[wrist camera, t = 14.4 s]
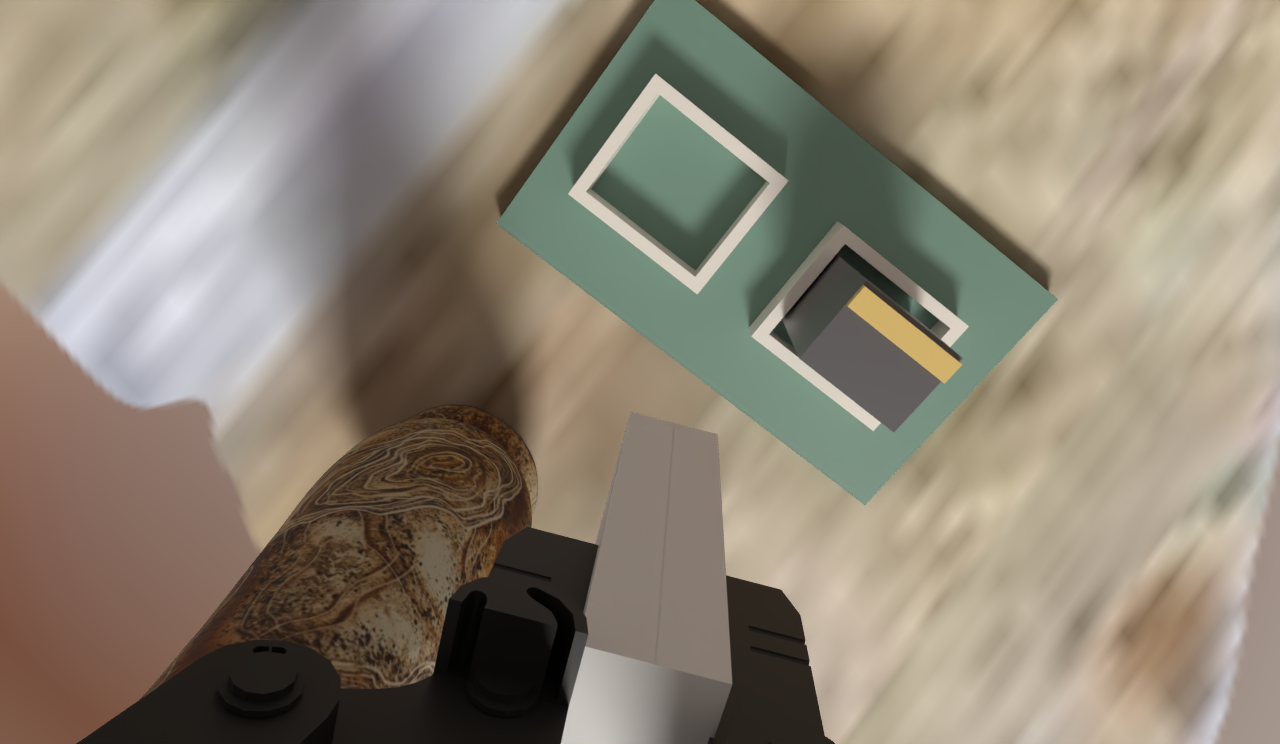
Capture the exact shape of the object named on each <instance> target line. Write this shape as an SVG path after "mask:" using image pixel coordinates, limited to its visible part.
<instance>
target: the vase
mask: <svg viewBox="0 0 1280 744" xmlns="http://www.w3.org/2000/svg"><path fill="white" fill-rule="evenodd" d="M536 501H537V476H536V469H535V465H534V463H533V460H532V458H531V456H530V454H529V452H528V450H527V448H526V446H525V444H524V443H523V441H522V439H521V438H520V437H519V436H518V435H517V434H516V433H515V432H514V431H513V430H512V429H511V428H510V427H509V426H507V425H506V424H505V423H503V422H502V421H501V420H499V419H498V418H496V417H494V416H492V415H490V414H488V413H486V412H484V411H482V410H479V409H477V408H474V407H469V406H464V405H446V406H438V407H434V408H431V409H428V410H426V411H424V412H421V413H419V414H417V415H416V416H414V417H412V418H410V419H409V420H407V421H406V422H401V423H398V424H395V425H392V426H389V427H387V428H385V429H383V430H381V431H379V432H376V433H374V434H372V435H371V436H369V437H368V438H366V439H365V440H363V441H362V442H360V443H359V444H357V445H356V446H354V447H353V448H352V449H351V450H350V451H348V452H347V453H346V454H345V455H344V456H343V457H342V458H340V459H339V460H338V461H337V462H336V463H335V464H334V465H332V466H331V468H330V469H329V470H327V471H326V472H325V473H324V474H323V476H322V477H321V478H320V479H319V480H318V481H317V482H316V483H315V484H314V485H313V487H312V488H311V489H310V490H309V491H308V492H307V494H306V495H305V496H304V498H303V499H302V500H301V502H300V503H299V504H298V505H297V507H296V508H295V509H294V511H293V512H292V513H291V515H290V516H289V517H288V519H287V520H286V521H285V523H284V524H283V525H282V527H281V528H280V529H279V531H278V532H277V533H276V535H275V536H274V537H273V538H272V539H271V541H270V542H269V543H268V544H267V546H266V547H265V548H264V550H263V551H262V552H261V553H260V555H259V556H258V557H257V558H256V560H255V561H254V562H253V563H252V565H251V566H250V567H249V568H248V570H247V571H246V572H245V574H244V575H243V576H242V577H241V579H240V580H239V581H238V582H237V584H236V585H235V586H234V588H233V589H232V590H231V591H230V593H229V594H228V595H227V596H226V598H225V599H224V600H223V602H222V603H221V604H220V605H219V607H218V608H217V609H216V610H215V612H214V613H213V614H212V616H211V617H210V618H209V619H208V621H207V622H206V623H205V624H204V626H203V627H202V628H201V629H200V630H199V632H198V633H197V634H196V635H195V636H194V637H193V639H192V640H191V641H190V642H189V643H188V644H187V645H186V646H185V648H184V649H183V650H182V651H181V653H180V654H179V655H178V656H177V657H176V659H175V660H174V661H173V662H172V663H171V664H170V666H169V667H168V668H167V669H166V670H165V671H164V673H163V674H162V675H161V676H160V677H159V678H158V680H157V681H156V682H155V683H154V684H153V685H152V687H151V688H150V689H149V690H148V691H147V692H146V693H145V695H144V696H143V697H145V696H146V695H148V694H149V693H150V692H152V691H153V690H155V689H156V688H158V687H159V686H160V685H162V684H163V683H165V682H166V681H168V680H169V679H171V678H172V677H173V676H175V675H176V674H178V673H179V672H181V671H182V670H184V669H185V668H186V667H188V666H189V665H191V664H192V663H194V662H195V661H197V660H198V659H199V658H201V657H203V656H205V655H207V654H209V653H211V652H214V651H216V650H218V649H220V648H222V647H224V646H226V645H231V644H236V643H241V642H246V641H251V640H285V641H289V642H292V643H296V644H299V645H302V646H306V647H309V648H312V649H313V650H315V651H316V652H318V653H319V654H321V655H322V656H324V657H325V658H327V659H328V660H330V661H331V663H332V664H333V666H334V668H335V669H336V671H337V673H338V674H339V676H340V678H341V688H349V689H380V688H395V687H400V686H404V685H408V684H412V683H416V682H419V681H421V680H423V679H425V678H427V677H429V676H432V674H433V672H434V667H435V662H436V658H437V653H438V648H439V644H440V639H441V634H442V630H443V625H444V620H445V615H446V611H447V606H448V601H449V598H450V597H451V596H452V595H453V594H454V593H455V592H456V591H457V590H458V589H459V588H460V587H461V586H462V585H464V584H467V583H469V582H472V581H474V580H477V579H479V578H482V577H488V575H489V573H490V571H491V569H492V567H493V565H494V562H495V560H496V558H497V556H498V553H499V551H500V549H501V547H502V544H503V542H504V541H505V540H507V539H508V538H510V537H512V536H513V535H515V534H516V533H518V532H520V531H521V530H523V529H524V528H526V527H530V528H531V526H532V512H533V510H534V508H535V505H536ZM143 697H142V698H143ZM142 698H141V699H142Z"/></svg>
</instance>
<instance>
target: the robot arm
mask: <svg viewBox="0 0 1280 744" xmlns="http://www.w3.org/2000/svg"><path fill="white" fill-rule="evenodd" d="M804 644H805V636H804V631H803V626H802V621H801V616H800V614H799V613H798V611H797V610H796V609H795V607H794V606H793V605H792V604H791V602H790V601H789V600H788V598H787V597H786V596H785V594H784V593H783V592H782V590H780V589H776V588H772V587H768V586H764V585H761V584H757V583H753V582H749V581H745V580H741V579H737V578H734V577H730V576H726V568H725V551H724V534H723V517H722V500H721V483H720V466H719V449H718V434H714V433H710V432H706V431H703V430H699V429H695V428H691V427H687V426H683V425H680V424H676V423H672V422H668V421H664V420H660V419H657V418H653V417H649V416H645V415H641V414H638V413H634V412H630V416H629V419H628V423H627V427H626V431H625V434H624V438H623V442H622V446H621V450H620V453H619V457H618V461H617V465H616V468H615V472H614V476H613V480H612V483H611V487H610V491H609V495H608V498H607V502H606V506H605V510H604V513H603V517H602V521H601V525H600V529H599V532H598V536H597V540H596V544H591V543H588V542H584V541H580V540H576V539H572V538H568V537H564V536H561V535H557V534H553V533H549V532H545V531H541V530H537V529H534V528H530V527H526V528H524V529H523V530H521V531H520V532H518V533H516V534H515V535H513V536H512V537H510V538H508V539H507V540H505V541H504V542H503V544H502V547H501V549H500V551H499V553H498V556H497V558H496V560H495V562H494V565H493V567H492V569H491V571H490V573H489V575H488V577H482V578H479V579H477V580H474V581H472V582H469V583H467V584H464V585H462V586H461V587H460V588H459V589H458V590H457V591H456V592H455V593H454V594H453V595H452V596H451V597H450V598H449V601H448V606H447V611H446V615H445V620H444V625H443V630H442V634H441V639H440V644H439V648H438V653H437V658H436V662H435V667H434V672H433V674H432V676H429V677H427V678H425V679H423V680H421V681H419V682H416V683H412V684H408V685H404V686H400V687H395V688H380V689H349V688H341V678H340V676H339V674H338V673H337V671H336V669H335V668H334V666H333V664H332V663H331V661H330V660H328V659H327V658H325V657H324V656H322V655H321V654H319V653H318V652H316V651H315V650H313V649H312V648H309V647H306V646H302V645H299V644H296V643H292V642H289V641H285V640H251V641H246V642H241V643H236V644H231V645H226V646H224V647H222V648H220V649H218V650H216V651H214V652H211V653H209V654H207V655H205V656H203V657H201V658H199V659H198V660H197V661H195V662H194V663H192V664H191V665H189V666H188V667H186V668H185V669H184V670H182V671H181V672H179V673H178V674H176V675H175V676H173V677H172V678H171V679H169V680H168V681H166V682H165V683H163V684H162V685H160V686H159V687H158V688H156V689H155V690H153V691H152V692H150V693H149V694H148V695H146V696H145V697H143V698H142V699H140V700H139V701H138V702H136V703H135V704H133V705H132V706H130V707H129V708H127V709H126V710H125V711H123V712H122V713H120V714H119V715H117V716H116V717H114V718H113V719H111V720H110V721H109V722H107V723H106V724H104V725H103V726H101V727H100V728H99V729H97V730H96V731H94V732H93V733H92V734H90V735H88V736H87V737H86V738H84V739H83V740H81V741H80V742H78V743H77V744H835V743H834V742H833V741H831V740H830V739H828V738H827V737H825V735H824V730H823V725H822V720H821V716H820V711H819V706H818V701H817V696H816V691H815V686H814V681H813V676H812V671H811V666H809V656H808V651H807V646H806V645H804Z"/></svg>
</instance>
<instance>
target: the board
mask: <svg viewBox="0 0 1280 744" xmlns="http://www.w3.org/2000/svg"><path fill="white" fill-rule="evenodd" d="M496 224H497V225H499V226H500V227H501V228H503V229H504V230H505V231H507V232H508V233H509V234H511V235H512V236H513V237H515V238H516V239H517V240H518V241H520V242H521V243H522V244H524V245H525V246H526V247H528V248H529V249H530V250H532V251H533V252H534V253H535V254H537V255H538V256H539V257H541V258H542V259H543V260H545V261H546V262H547V263H549V264H550V265H551V266H552V267H554V268H555V269H556V270H558V271H559V272H560V273H562V274H563V275H564V276H566V277H567V278H568V279H570V280H571V281H572V282H573V283H575V284H576V285H577V286H579V287H580V288H581V289H583V290H584V291H585V292H587V293H588V294H589V295H590V296H592V297H593V298H594V299H596V300H597V301H598V302H600V303H601V304H602V305H604V306H605V307H606V308H607V309H609V310H610V311H611V312H613V313H614V314H615V315H617V316H618V317H619V318H621V319H622V320H623V321H625V322H626V323H627V324H628V325H630V326H631V327H632V328H634V329H635V330H636V331H638V332H639V333H640V334H642V335H643V336H644V337H645V338H647V339H648V340H649V341H651V342H652V343H653V344H655V345H656V346H657V347H659V348H660V349H661V350H662V351H664V352H665V353H666V354H668V355H669V356H670V357H672V358H673V359H674V360H676V361H677V362H678V363H680V364H681V365H682V366H683V367H685V368H686V369H687V370H689V371H690V372H691V373H693V374H694V375H695V376H697V377H698V378H699V379H700V380H702V381H703V382H704V383H706V384H707V385H708V386H710V387H711V388H712V389H714V390H715V391H716V392H717V393H719V394H720V395H721V396H723V397H724V398H725V399H727V400H728V401H729V402H731V403H732V404H733V405H734V406H736V407H737V408H738V409H740V410H741V411H742V412H744V413H745V414H746V415H748V416H749V417H750V418H752V419H753V420H754V421H755V422H757V423H758V424H759V425H761V426H762V427H763V428H765V429H766V430H767V431H769V432H770V433H771V434H772V435H774V436H775V437H776V438H778V439H779V440H780V441H782V442H783V443H784V444H786V445H787V446H788V447H789V448H791V449H792V450H793V451H795V452H796V453H797V454H799V455H800V456H801V457H803V458H804V459H805V460H807V461H808V462H809V463H810V464H812V465H813V466H814V467H816V468H817V469H818V470H820V471H821V472H822V473H824V474H825V475H826V476H827V477H829V478H830V479H831V480H833V481H834V482H835V483H837V484H838V485H839V486H841V487H842V488H843V489H844V490H846V491H847V492H848V493H850V494H851V495H852V496H854V497H855V498H856V499H858V500H859V501H860V502H862V503H863V504H864V505H866V504H867V502H868V501H869V500H870V499H871V498H872V497H873V496H874V495H875V494H876V493H877V492H878V491H879V490H880V489H881V488H882V486H883V485H884V484H885V483H886V482H887V481H888V480H889V479H890V478H891V477H892V476H893V475H894V474H895V473H896V472H897V470H898V469H899V468H900V467H901V466H902V465H903V464H904V463H905V462H906V461H907V460H908V459H909V458H910V457H911V456H912V454H913V453H914V452H915V451H916V450H917V449H918V448H919V447H920V446H921V445H922V444H923V443H924V442H925V441H926V440H927V439H928V437H929V436H930V435H931V434H932V433H933V432H934V431H935V430H936V429H937V428H938V427H939V426H940V425H941V424H942V423H943V421H944V420H945V419H946V418H947V417H948V416H949V415H950V414H951V413H952V412H953V411H954V410H955V409H956V408H957V407H958V405H959V404H960V403H961V402H962V401H963V400H964V399H965V398H966V397H967V396H968V395H969V394H970V393H971V392H972V391H973V389H974V388H975V387H976V386H977V385H978V384H979V383H980V382H981V381H982V380H983V379H984V378H985V377H986V376H987V375H988V373H989V372H990V371H991V370H992V369H993V368H994V367H995V366H996V365H997V364H998V363H999V362H1000V361H1001V360H1002V359H1003V357H1004V356H1005V355H1006V354H1007V353H1008V352H1009V351H1010V350H1011V349H1012V348H1013V347H1014V346H1015V345H1016V344H1017V343H1018V341H1019V340H1020V339H1021V338H1022V337H1023V336H1024V335H1025V334H1026V333H1027V332H1028V331H1029V330H1030V329H1031V328H1032V327H1033V325H1034V324H1035V323H1036V322H1037V321H1038V320H1039V319H1040V318H1041V317H1042V316H1043V315H1044V314H1045V313H1046V312H1047V311H1048V309H1049V308H1050V307H1051V306H1052V305H1053V304H1054V303H1055V302H1056V301H1057V300H1058V299H1057V298H1056V297H1055V296H1053V295H1052V294H1051V293H1050V292H1049V291H1047V290H1046V289H1045V288H1044V287H1042V286H1041V285H1040V284H1039V283H1038V282H1036V281H1035V280H1034V279H1033V278H1032V277H1030V276H1029V275H1028V274H1027V273H1025V272H1024V271H1023V270H1022V269H1021V268H1019V267H1018V266H1017V265H1016V264H1015V263H1013V262H1012V261H1011V260H1010V259H1008V258H1007V257H1006V256H1005V255H1004V254H1002V253H1001V252H1000V251H999V250H998V249H996V248H995V247H994V246H993V245H991V244H990V243H989V242H988V241H987V240H985V239H984V238H983V237H982V236H981V235H979V234H978V233H977V232H976V231H975V230H973V229H972V228H971V227H970V226H968V225H967V224H966V223H965V222H964V221H962V220H961V219H960V218H959V217H958V216H956V215H955V214H954V213H953V212H951V211H950V210H949V209H948V208H947V207H945V206H944V205H943V204H942V203H941V202H939V201H938V200H937V199H936V198H934V197H933V196H932V195H931V194H930V193H928V192H927V191H926V190H925V189H924V188H922V187H921V186H920V185H919V184H917V183H916V182H915V181H914V180H913V179H911V178H910V177H909V176H908V175H907V174H905V173H904V172H903V171H902V170H900V169H899V168H898V167H897V166H896V165H894V164H893V163H892V162H891V161H890V160H888V159H887V158H886V157H885V156H883V155H882V154H881V153H880V152H879V151H877V150H876V149H875V148H874V147H873V146H871V145H870V144H869V143H868V142H867V141H865V140H864V139H863V138H862V137H860V136H859V135H858V134H857V133H856V132H854V131H853V130H852V129H851V128H850V127H848V126H847V125H846V124H845V123H843V122H842V121H841V120H840V119H839V118H837V117H836V116H835V115H834V114H833V113H831V112H830V111H829V110H828V109H826V108H825V107H824V106H823V105H822V104H820V103H819V102H818V101H817V100H816V99H814V98H813V97H812V96H811V95H809V94H808V93H807V92H806V91H805V90H803V89H802V88H801V87H800V86H799V85H797V84H796V83H795V82H794V81H792V80H791V79H790V78H789V77H788V76H786V75H785V74H784V73H783V72H782V71H780V70H779V69H778V68H777V67H775V66H774V65H773V64H772V63H771V62H769V61H768V60H767V59H766V58H765V57H763V56H762V55H761V54H760V53H759V52H757V51H756V50H755V49H754V48H752V47H751V46H750V45H749V44H748V43H746V42H745V41H744V40H743V39H742V38H740V37H739V36H738V35H737V34H735V33H734V32H733V31H732V30H731V29H729V28H728V27H727V26H726V25H725V24H723V23H722V22H721V21H720V20H718V19H717V18H716V17H715V16H714V15H712V14H711V13H710V12H709V11H708V10H706V9H705V8H704V7H703V6H701V5H700V4H699V3H698V2H697V1H695V0H654V2H653V3H652V4H651V6H650V7H649V9H648V10H647V11H646V13H645V14H644V16H643V17H642V18H641V20H640V21H639V23H638V24H637V26H636V27H635V28H634V30H633V31H632V33H631V34H630V35H629V37H628V38H627V40H626V41H625V42H624V44H623V45H622V47H621V48H620V50H619V51H618V52H617V54H616V55H615V57H614V58H613V59H612V61H611V62H610V64H609V65H608V66H607V68H606V69H605V71H604V72H603V74H602V75H601V76H600V78H599V79H598V81H597V82H596V83H595V85H594V86H593V88H592V89H591V90H590V92H589V93H588V95H587V96H586V98H585V99H584V100H583V102H582V103H581V105H580V106H579V107H578V109H577V110H576V112H575V113H574V114H573V116H572V117H571V119H570V120H569V122H568V123H567V124H566V126H565V127H564V129H563V130H562V131H561V133H560V134H559V136H558V137H557V139H556V140H555V141H554V143H553V144H552V146H551V147H550V148H549V150H548V151H547V153H546V154H545V155H544V157H543V158H542V160H541V161H540V163H539V164H538V165H537V167H536V168H535V170H534V171H533V172H532V174H531V175H530V177H529V178H528V179H527V181H526V182H525V184H524V185H523V187H522V188H521V189H520V191H519V192H518V194H517V195H516V196H515V198H514V199H513V201H512V202H511V203H510V205H509V206H508V208H507V209H506V211H505V212H504V213H503V215H502V216H501V218H500V219H499V220H498V222H497V223H496ZM836 254H838V255H839V256H840V257H841V258H843V259H844V260H845V261H846V262H848V263H849V264H850V265H851V266H853V267H854V268H855V269H856V270H858V271H859V272H860V273H861V274H863V275H864V276H865V277H866V278H868V279H869V280H870V281H871V282H873V283H874V284H875V285H876V286H878V287H879V288H880V289H881V290H882V291H884V292H885V293H886V294H887V295H889V296H890V297H891V298H892V299H894V300H895V301H896V302H897V303H899V304H900V305H901V306H902V307H904V308H905V309H906V310H907V311H909V312H910V313H911V314H912V315H913V316H914V317H916V318H917V319H918V320H919V321H920V322H921V323H923V324H924V325H925V326H926V327H927V328H928V329H930V330H931V331H932V332H933V333H934V334H935V335H937V336H938V337H939V338H940V339H941V340H942V341H944V342H945V343H946V344H947V345H948V346H949V347H951V348H952V349H953V350H954V351H955V352H956V353H957V354H959V355H960V356H961V357H962V358H963V359H962V360H961V361H960V363H961V364H962V366H961V367H960V368H959V369H958V370H957V371H956V372H955V373H954V374H953V375H952V376H951V377H950V379H949V380H948V381H947V382H946V383H945V384H944V383H943V382H942V381H941V383H940V384H939V385H938V386H937V387H936V388H935V389H934V390H933V391H932V392H931V393H930V394H929V396H928V397H927V398H926V399H925V400H924V401H923V402H922V403H921V404H920V405H919V406H918V407H917V408H916V410H915V411H914V412H913V413H912V414H911V415H910V416H909V417H908V418H907V419H906V420H905V421H904V423H903V424H902V425H901V426H900V427H899V428H898V429H897V430H896V431H895V432H892V431H891V430H890V429H888V428H887V427H886V426H885V425H883V424H882V423H881V422H880V421H878V420H877V419H876V418H874V417H873V416H872V415H871V414H869V413H868V412H867V411H865V410H864V409H863V408H862V407H860V406H859V405H858V404H857V403H855V402H854V401H853V400H851V399H850V398H849V397H848V396H846V395H845V394H844V393H842V392H841V391H840V390H839V389H837V388H836V387H835V386H834V385H832V384H831V383H830V382H828V381H827V380H826V379H825V378H823V377H822V376H821V375H819V374H818V373H817V372H816V371H814V370H813V369H812V368H811V367H809V366H808V365H807V364H805V363H804V362H803V361H802V360H800V359H799V357H798V355H797V353H796V350H795V348H794V346H793V343H792V341H791V339H790V336H789V334H788V332H787V329H786V327H785V325H784V323H783V320H782V318H783V317H784V316H785V315H786V314H787V312H788V311H789V310H790V309H791V308H792V306H793V305H794V304H795V303H796V302H797V300H798V299H799V298H800V297H801V296H802V294H803V293H804V292H805V291H806V290H807V289H808V287H809V286H810V285H811V284H812V283H813V281H814V280H815V279H816V278H817V277H818V275H819V274H820V273H821V272H822V271H823V270H824V268H825V267H826V266H827V265H828V264H829V262H830V261H831V260H832V259H833V258H834V256H835V255H836Z"/></svg>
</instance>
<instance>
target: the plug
mask: <svg viewBox="0 0 1280 744" xmlns="http://www.w3.org/2000/svg"><path fill="white" fill-rule="evenodd" d="M782 320H783V323H784V325H785V327H786V329H787V332H788V334H789V336H790V339H791V341H792V343H793V346H794V348H795V350H796V353H797V355H798V357H799V359H800V360H802V361H803V362H804V363H805V364H807V365H808V366H809V367H811V368H812V369H813V370H814V371H816V372H817V373H818V374H819V375H821V376H822V377H823V378H825V379H826V380H827V381H828V382H830V383H831V384H832V385H834V386H835V387H836V388H837V389H839V390H840V391H841V392H842V393H844V394H845V395H846V396H848V397H849V398H850V399H851V400H853V401H854V402H855V403H857V404H858V405H859V406H860V407H862V408H863V409H864V410H865V411H867V412H868V413H869V414H871V415H872V416H873V417H874V418H876V419H877V420H878V421H880V422H881V423H882V424H883V425H885V426H886V427H887V428H888V429H890V430H891V431H892V432H895V431H896V430H897V429H898V428H899V427H900V426H901V425H902V424H903V423H904V421H905V420H906V419H907V418H908V417H909V416H910V415H911V414H912V413H913V412H914V411H915V410H916V408H917V407H918V406H919V405H920V404H921V403H922V402H923V401H924V400H925V399H926V398H927V397H928V396H929V394H930V393H931V392H932V391H933V390H934V389H935V388H936V387H937V386H938V385H939V384H940V383H941V381H942V382H943V383H944V384H945V383H946V382H947V381H948V380H949V379H950V377H951V376H952V375H953V374H954V373H955V372H956V371H957V370H958V369H959V368H960V367H961V366H962V364H961V363H960V361H961V360H962V359H963V358H962V357H961V356H960V355H959V354H957V353H956V352H955V351H954V350H953V349H952V348H951V347H949V346H948V345H947V344H946V343H945V342H944V341H942V340H941V339H940V338H939V337H938V336H937V335H935V334H934V333H933V332H932V331H931V330H930V329H928V328H927V327H926V326H925V325H924V324H923V323H921V322H920V321H919V320H918V319H917V318H916V317H914V316H913V315H912V314H911V313H910V312H909V311H907V310H906V309H905V308H904V307H902V306H901V305H900V304H899V303H897V302H896V301H895V300H894V299H892V298H891V297H890V296H889V295H887V294H886V293H885V292H884V291H882V290H881V289H880V288H879V287H878V286H876V285H875V284H874V283H873V282H871V281H870V280H869V279H868V278H866V277H865V276H864V275H863V274H861V273H860V272H859V271H858V270H856V269H855V268H854V267H853V266H851V265H850V264H849V263H848V262H846V261H845V260H844V259H843V258H841V257H840V256H839V255H838V254H836V255H835V256H834V258H833V259H832V260H831V261H830V262H829V264H828V265H827V266H826V267H825V268H824V270H823V271H822V272H821V273H820V274H819V275H818V277H817V278H816V279H815V280H814V281H813V283H812V284H811V285H810V286H809V287H808V289H807V290H806V291H805V292H804V293H803V294H802V296H801V297H800V298H799V299H798V300H797V302H796V303H795V304H794V305H793V306H792V308H791V309H790V310H789V311H788V312H787V314H786V315H785V316H784V317H783V318H782Z"/></svg>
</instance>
